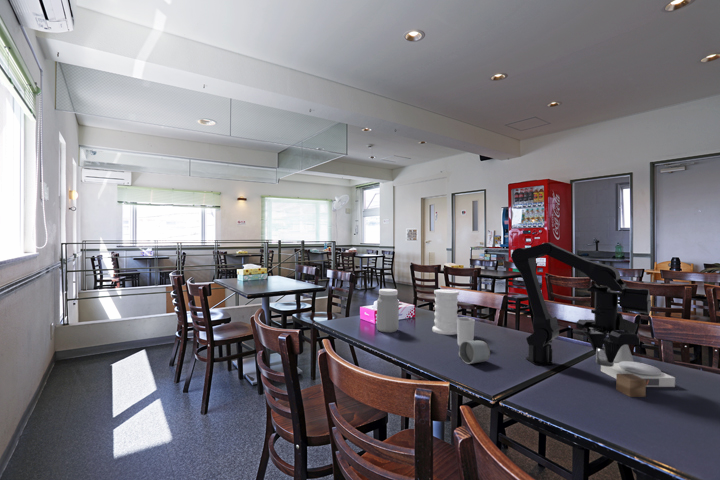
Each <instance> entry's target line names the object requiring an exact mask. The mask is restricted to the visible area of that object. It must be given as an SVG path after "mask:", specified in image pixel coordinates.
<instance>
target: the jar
mask: <svg viewBox="0 0 720 480" xmlns="http://www.w3.org/2000/svg"><path fill="white" fill-rule="evenodd" d="M378 294H379V295H378V298H377V300H376V329H377V330H378V331H379V332H380V333H395V332H397V331H398V329H399V316H400V315H399V314H400V313H399V311H400V301H399V299H398V289H394V288H380V289H379V290H378Z"/></svg>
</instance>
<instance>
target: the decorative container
mask: <svg viewBox="0 0 720 480" xmlns="http://www.w3.org/2000/svg"><path fill="white" fill-rule="evenodd" d="M433 294H434V295H435V297H434V301H435V302H434V310H435V311H434V314H433V315H434V320H433V322H434V325H433V326H432V329H431V330H432V332H433V333H436V334H439V335H444V336H445V335H448V336H451V335H452V336H453V335H457V318H458V315H459V314H458V310H459V309H458V308H459V307H458V303H459V299H458V296H459V295H460V291H459V290H456V289H448V288H446V289H445V288H441V289H434V291H433Z"/></svg>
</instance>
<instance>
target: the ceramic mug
mask: <svg viewBox="0 0 720 480" xmlns="http://www.w3.org/2000/svg"><path fill="white" fill-rule="evenodd" d="M458 356H459V358H460V359H461V360H462V361H463V363H465V364H466V365H471V364H477V363H484V362H486V361H488V360H489V358H491V357H490V356H491V350H490V346H489V345H488V343H486V342H485V341H483V340H473V341H463V342H462V343H461V345H460V346H459V349H458Z"/></svg>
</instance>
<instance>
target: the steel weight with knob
mask: <svg viewBox="0 0 720 480" xmlns="http://www.w3.org/2000/svg"><path fill="white" fill-rule="evenodd" d="M595 364H597V365H599V366H601V365H602V366H608V367H612V366H614V361H613V363H609V362H608V359H607V355H606V351H605V347H604V346H603V347H596V354H595Z"/></svg>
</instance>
